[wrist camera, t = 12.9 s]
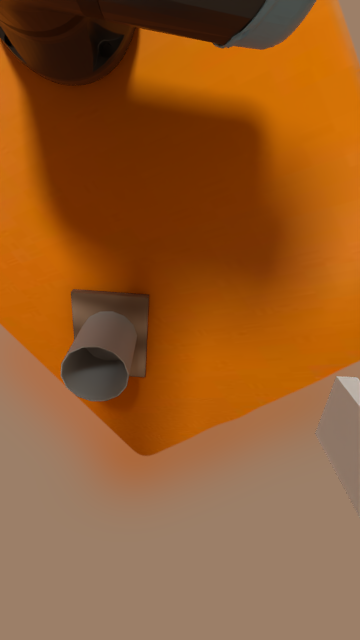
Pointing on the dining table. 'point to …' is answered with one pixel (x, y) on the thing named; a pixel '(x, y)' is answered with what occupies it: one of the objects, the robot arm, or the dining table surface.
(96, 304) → the walnut board
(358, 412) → the robot arm
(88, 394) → the cup
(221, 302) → the dining table surface
